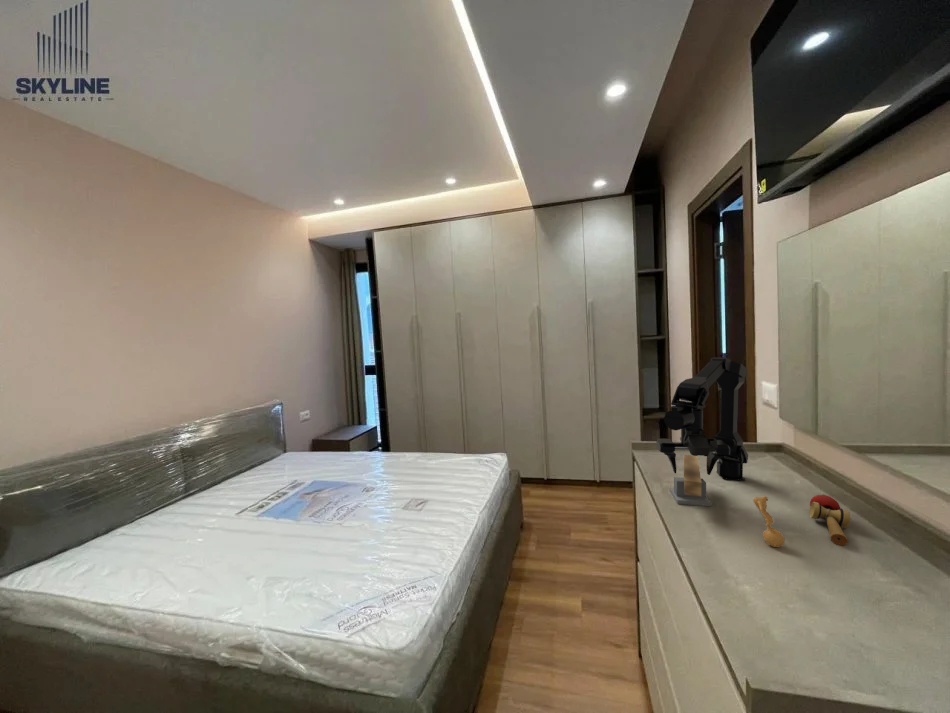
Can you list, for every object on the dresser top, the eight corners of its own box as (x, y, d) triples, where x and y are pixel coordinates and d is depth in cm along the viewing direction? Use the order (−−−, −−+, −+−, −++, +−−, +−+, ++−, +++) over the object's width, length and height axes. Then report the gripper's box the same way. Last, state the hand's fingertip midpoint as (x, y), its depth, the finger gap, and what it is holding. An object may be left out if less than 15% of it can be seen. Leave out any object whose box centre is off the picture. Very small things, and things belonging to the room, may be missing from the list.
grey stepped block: (701, 493, 115) (701, 475, 114) (711, 506, 107) (711, 486, 107) (669, 491, 117) (669, 473, 117) (677, 503, 109) (677, 484, 109)
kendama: (866, 556, 85) (844, 511, 100) (861, 531, 84) (840, 490, 99) (821, 551, 89) (806, 509, 104) (816, 527, 89) (802, 488, 103)
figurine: (787, 557, 83) (788, 507, 82) (754, 549, 87) (755, 501, 86) (781, 538, 90) (782, 492, 89) (750, 532, 94) (751, 487, 93)
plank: (697, 467, 120) (697, 456, 120) (701, 496, 101) (701, 482, 101) (683, 466, 122) (683, 454, 122) (684, 493, 103) (684, 480, 103)
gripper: (665, 430, 105) (665, 483, 106) (739, 432, 100) (738, 487, 101) (655, 420, 115) (655, 468, 117) (722, 421, 111) (721, 471, 112)
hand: (691, 473), depth 111 cm, fingers open, 9 cm apart
